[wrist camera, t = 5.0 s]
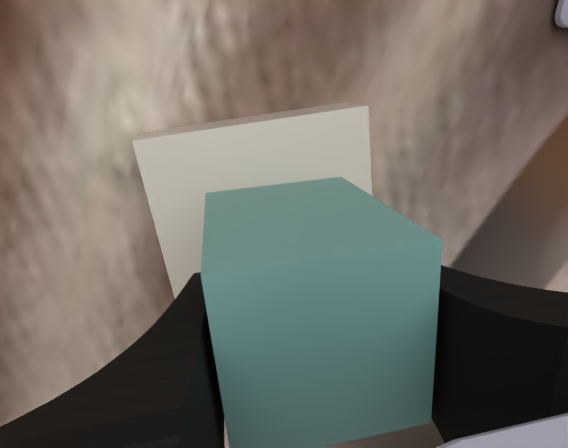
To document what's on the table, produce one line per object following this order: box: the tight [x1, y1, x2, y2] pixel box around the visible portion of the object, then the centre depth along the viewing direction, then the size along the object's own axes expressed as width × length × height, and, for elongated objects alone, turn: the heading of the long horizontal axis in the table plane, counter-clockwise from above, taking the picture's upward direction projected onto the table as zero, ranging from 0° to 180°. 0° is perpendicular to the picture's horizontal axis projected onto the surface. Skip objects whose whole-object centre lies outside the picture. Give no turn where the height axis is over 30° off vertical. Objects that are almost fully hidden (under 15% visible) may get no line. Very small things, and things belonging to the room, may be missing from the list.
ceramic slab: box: [132, 102, 372, 298], centre depth 17 cm, size 9×9×3 cm
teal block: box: [201, 177, 443, 448], centre depth 10 cm, size 4×4×6 cm
